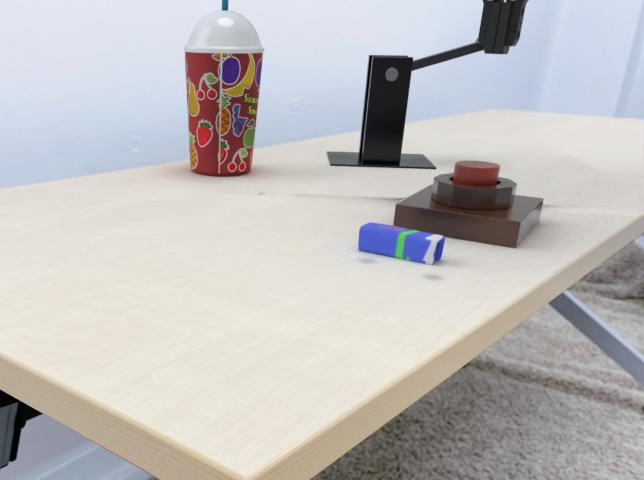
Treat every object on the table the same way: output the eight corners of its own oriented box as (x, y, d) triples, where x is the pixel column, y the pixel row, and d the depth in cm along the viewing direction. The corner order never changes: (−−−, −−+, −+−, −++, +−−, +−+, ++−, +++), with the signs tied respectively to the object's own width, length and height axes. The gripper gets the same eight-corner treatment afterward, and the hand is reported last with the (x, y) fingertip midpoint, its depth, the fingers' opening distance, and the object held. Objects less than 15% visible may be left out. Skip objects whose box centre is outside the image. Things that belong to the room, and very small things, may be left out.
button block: (538, 222, 63) (548, 177, 62) (515, 249, 56) (525, 198, 54) (427, 206, 68) (433, 165, 67) (392, 229, 61) (398, 182, 59)
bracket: (421, 163, 90) (437, 55, 84) (434, 177, 81) (452, 58, 76) (326, 160, 91) (335, 53, 86) (329, 174, 83) (339, 57, 78)
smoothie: (263, 187, 76) (273, -22, 68) (185, 187, 75) (186, -23, 67) (252, 172, 83) (260, -17, 75) (181, 172, 83) (182, -19, 75)
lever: (490, 51, 82) (487, 30, 81) (503, 53, 77) (500, 30, 76) (375, 85, 85) (371, 64, 84) (380, 88, 80) (376, 67, 79)
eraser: (432, 266, 52) (436, 240, 51) (356, 251, 55) (359, 226, 54) (441, 260, 53) (446, 234, 52) (367, 245, 56) (370, 220, 55)
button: (500, 183, 61) (504, 163, 60) (491, 191, 58) (494, 169, 58) (458, 178, 63) (461, 158, 62) (446, 185, 60) (450, 164, 59)
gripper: (655, -214, 49) (594, 55, 56) (460, -188, 56) (427, 50, 63) (647, -246, 43) (580, 58, 50) (431, -213, 50) (399, 52, 57)
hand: (495, 53), depth 56 cm, fingers closed
